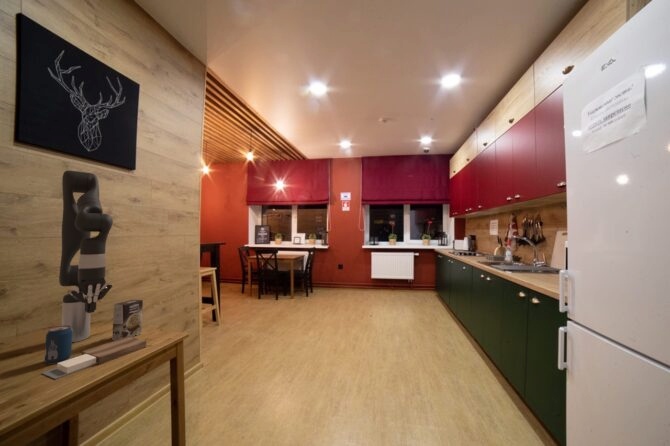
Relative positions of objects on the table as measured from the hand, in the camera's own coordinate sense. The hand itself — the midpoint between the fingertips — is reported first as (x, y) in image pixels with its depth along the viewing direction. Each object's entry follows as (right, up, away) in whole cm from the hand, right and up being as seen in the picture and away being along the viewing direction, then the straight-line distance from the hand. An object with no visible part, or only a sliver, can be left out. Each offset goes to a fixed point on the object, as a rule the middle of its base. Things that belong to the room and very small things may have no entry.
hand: (90, 312), depth 98 cm
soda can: (-13, -19, +1) cm, 22 cm away
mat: (-2, -18, -5) cm, 19 cm away
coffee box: (-4, -19, +23) cm, 31 cm away
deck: (+3, -19, +8) cm, 20 cm away
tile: (-1, -18, -4) cm, 18 cm away
